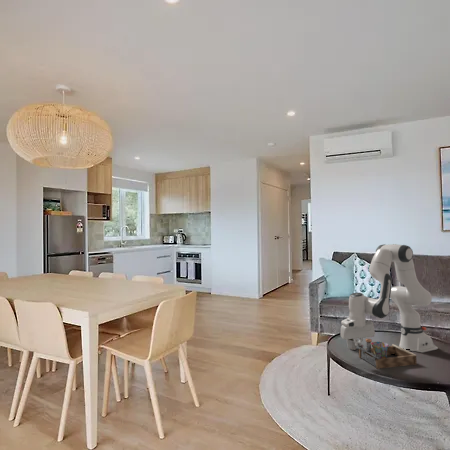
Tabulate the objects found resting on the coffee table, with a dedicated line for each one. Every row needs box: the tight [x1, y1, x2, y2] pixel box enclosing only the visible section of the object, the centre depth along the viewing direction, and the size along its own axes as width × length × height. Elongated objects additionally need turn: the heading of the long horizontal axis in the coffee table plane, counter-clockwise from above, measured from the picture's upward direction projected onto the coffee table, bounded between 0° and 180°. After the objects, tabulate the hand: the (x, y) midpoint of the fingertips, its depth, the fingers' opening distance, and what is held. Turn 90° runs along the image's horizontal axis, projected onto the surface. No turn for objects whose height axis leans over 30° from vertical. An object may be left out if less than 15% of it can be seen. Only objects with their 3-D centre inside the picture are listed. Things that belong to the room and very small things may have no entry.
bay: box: [358, 343, 418, 370], centre depth 195 cm, size 25×19×6 cm
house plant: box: [346, 338, 359, 351], centre depth 217 cm, size 14×14×16 cm
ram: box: [357, 338, 381, 368], centre depth 193 cm, size 3×19×13 cm, turn 11°
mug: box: [371, 341, 390, 358], centre depth 194 cm, size 12×9×11 cm
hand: (358, 345), depth 192 cm, fingers closed
